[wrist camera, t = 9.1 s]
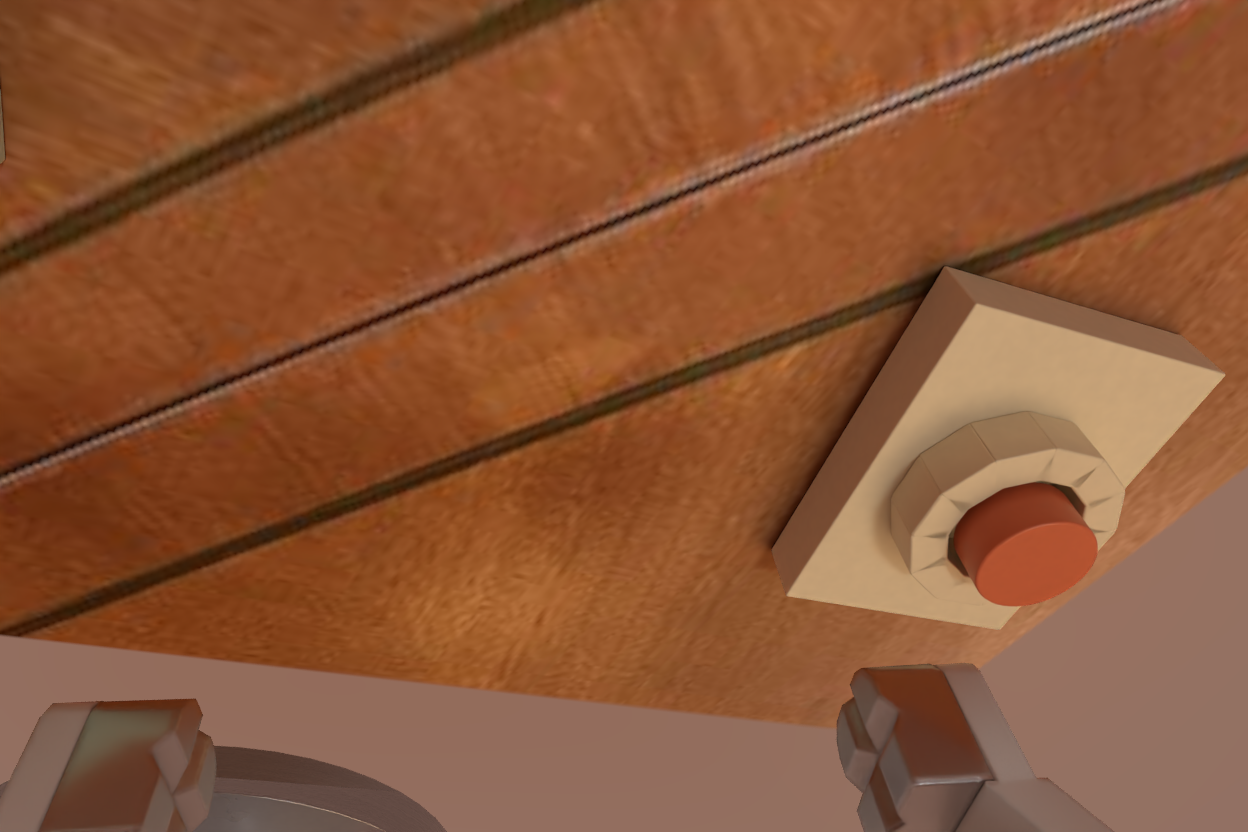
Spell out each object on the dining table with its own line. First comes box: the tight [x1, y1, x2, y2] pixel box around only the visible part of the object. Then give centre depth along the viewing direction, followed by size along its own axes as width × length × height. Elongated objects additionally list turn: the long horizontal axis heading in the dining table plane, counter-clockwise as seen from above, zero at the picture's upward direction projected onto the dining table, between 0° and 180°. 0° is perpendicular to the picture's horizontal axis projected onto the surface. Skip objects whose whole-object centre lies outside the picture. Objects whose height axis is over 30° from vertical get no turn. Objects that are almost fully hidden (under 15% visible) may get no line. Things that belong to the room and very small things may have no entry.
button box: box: [771, 266, 1225, 630], centre depth 28 cm, size 12×9×4 cm
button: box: [953, 482, 1098, 607], centre depth 26 cm, size 4×4×2 cm
